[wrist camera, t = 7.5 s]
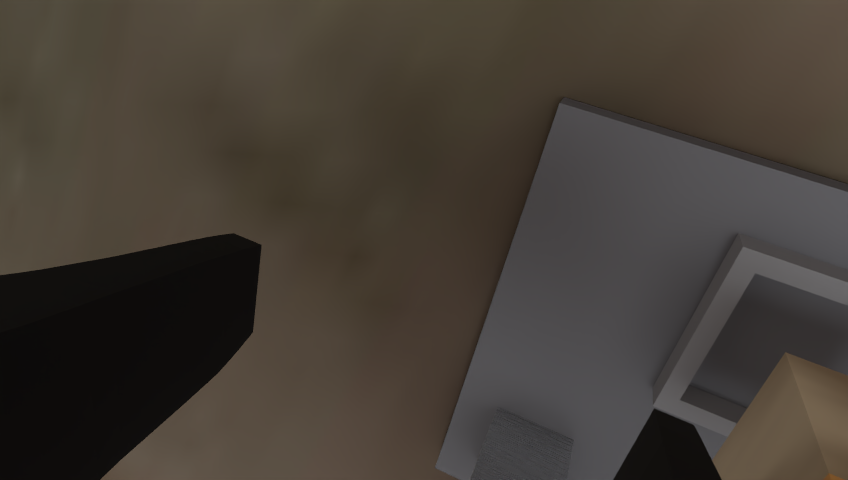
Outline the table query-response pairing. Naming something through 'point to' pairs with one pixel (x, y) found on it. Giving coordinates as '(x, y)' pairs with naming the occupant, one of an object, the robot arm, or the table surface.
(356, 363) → the table surface
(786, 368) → the taped cardboard box
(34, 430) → the robot arm
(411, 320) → the table surface
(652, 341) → the base board
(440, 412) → the table surface
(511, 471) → the post
